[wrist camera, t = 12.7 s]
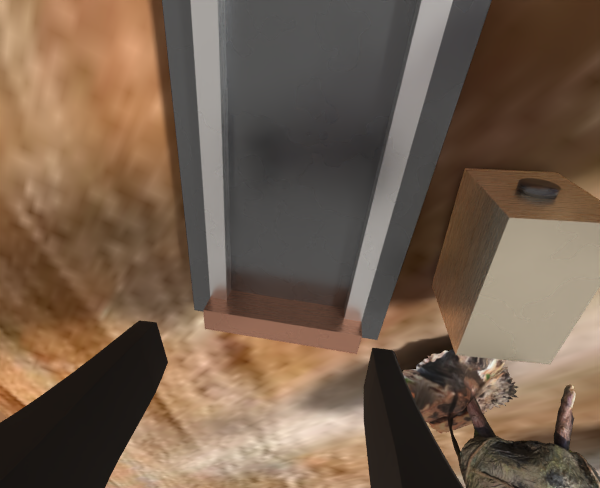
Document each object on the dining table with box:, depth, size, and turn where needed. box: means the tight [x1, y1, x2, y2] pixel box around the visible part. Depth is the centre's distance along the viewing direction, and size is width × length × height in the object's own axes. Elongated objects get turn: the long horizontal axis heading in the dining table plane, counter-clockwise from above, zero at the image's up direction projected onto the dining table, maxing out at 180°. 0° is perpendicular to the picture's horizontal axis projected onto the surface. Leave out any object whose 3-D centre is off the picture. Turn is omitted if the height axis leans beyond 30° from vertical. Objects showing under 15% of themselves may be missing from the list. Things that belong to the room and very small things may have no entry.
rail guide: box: [162, 0, 492, 354], centre depth 15 cm, size 12×21×3 cm, turn 174°
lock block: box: [432, 168, 600, 364], centre depth 15 cm, size 4×7×5 cm, turn 0°
